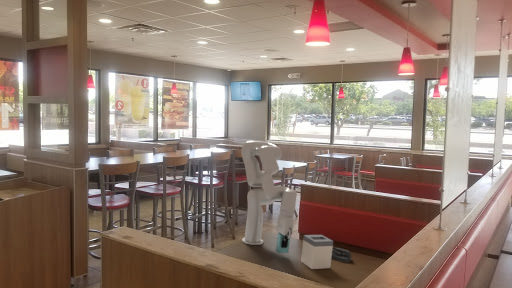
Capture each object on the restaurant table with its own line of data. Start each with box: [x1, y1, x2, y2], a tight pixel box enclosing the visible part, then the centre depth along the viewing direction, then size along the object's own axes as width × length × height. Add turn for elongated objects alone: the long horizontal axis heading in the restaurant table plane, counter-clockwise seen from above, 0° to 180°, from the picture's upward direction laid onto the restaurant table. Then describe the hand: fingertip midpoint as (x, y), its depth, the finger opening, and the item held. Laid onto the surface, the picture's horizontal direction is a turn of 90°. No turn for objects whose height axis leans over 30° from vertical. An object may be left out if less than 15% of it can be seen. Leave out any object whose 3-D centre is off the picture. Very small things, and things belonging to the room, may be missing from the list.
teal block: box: [275, 232, 291, 254], centre depth 211 cm, size 3×6×10 cm, turn 113°
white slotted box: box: [300, 234, 334, 270], centre depth 205 cm, size 11×11×14 cm
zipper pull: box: [331, 246, 353, 263], centre depth 223 cm, size 9×7×25 cm
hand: (282, 246), depth 212 cm, fingers closed on teal block, 3 cm apart
